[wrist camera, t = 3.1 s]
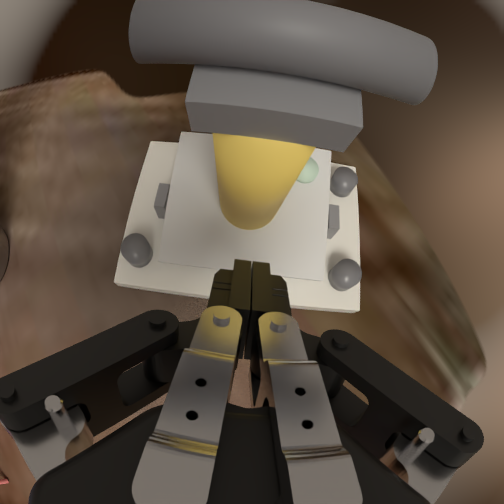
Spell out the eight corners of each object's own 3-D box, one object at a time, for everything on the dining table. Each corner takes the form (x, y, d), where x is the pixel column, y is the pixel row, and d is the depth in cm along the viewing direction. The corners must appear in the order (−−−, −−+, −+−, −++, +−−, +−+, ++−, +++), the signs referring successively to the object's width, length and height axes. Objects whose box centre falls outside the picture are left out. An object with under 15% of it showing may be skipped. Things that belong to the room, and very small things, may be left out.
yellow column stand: (161, 262, 27) (-13, 184, 6) (182, 137, 29) (130, -67, 7) (319, 281, 28) (522, 252, 6) (327, 156, 29) (449, -15, 8)
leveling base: (118, 285, 29) (104, 275, 25) (153, 148, 34) (147, 126, 30) (353, 313, 30) (371, 306, 26) (350, 174, 35) (363, 154, 31)
